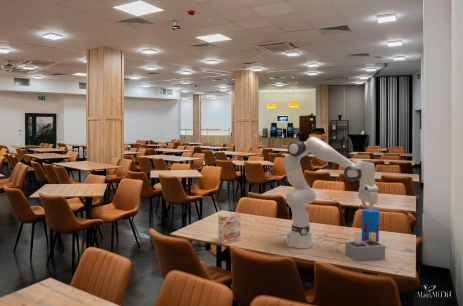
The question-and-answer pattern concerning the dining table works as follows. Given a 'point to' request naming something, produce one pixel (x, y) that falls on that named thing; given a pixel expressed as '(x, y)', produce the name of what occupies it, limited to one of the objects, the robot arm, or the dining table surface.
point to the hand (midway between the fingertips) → (367, 208)
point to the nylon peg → (357, 239)
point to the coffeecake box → (229, 228)
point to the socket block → (365, 251)
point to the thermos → (370, 223)
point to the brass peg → (372, 237)
